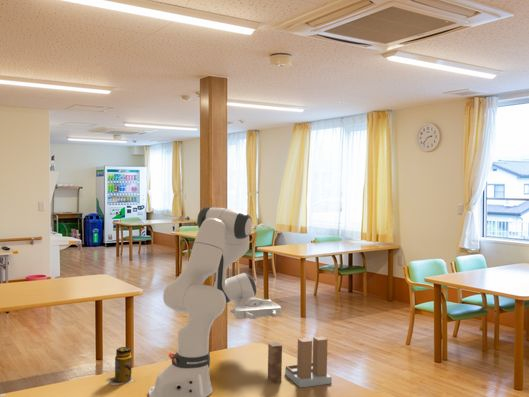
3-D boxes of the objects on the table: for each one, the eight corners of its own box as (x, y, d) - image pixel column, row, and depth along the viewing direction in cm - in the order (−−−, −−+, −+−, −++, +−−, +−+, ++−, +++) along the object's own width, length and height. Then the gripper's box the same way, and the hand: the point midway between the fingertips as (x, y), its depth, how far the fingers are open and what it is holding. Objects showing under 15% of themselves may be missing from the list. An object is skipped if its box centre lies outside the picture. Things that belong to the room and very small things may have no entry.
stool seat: (300, 387, 186) (301, 343, 186) (285, 374, 199) (286, 333, 199) (331, 383, 191) (332, 340, 191) (314, 370, 204) (315, 330, 204)
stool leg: (271, 383, 190) (272, 346, 190) (267, 379, 194) (268, 343, 194) (281, 381, 192) (282, 345, 191) (277, 378, 195) (277, 342, 195)
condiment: (134, 381, 189) (135, 349, 189) (112, 386, 185) (112, 353, 184) (128, 375, 195) (128, 344, 195) (106, 379, 191) (106, 348, 190)
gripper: (229, 302, 212) (239, 310, 200) (273, 299, 220) (286, 306, 207) (229, 317, 213) (239, 326, 200) (273, 313, 220) (286, 321, 207)
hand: (264, 316), depth 203 cm, fingers open, 8 cm apart
